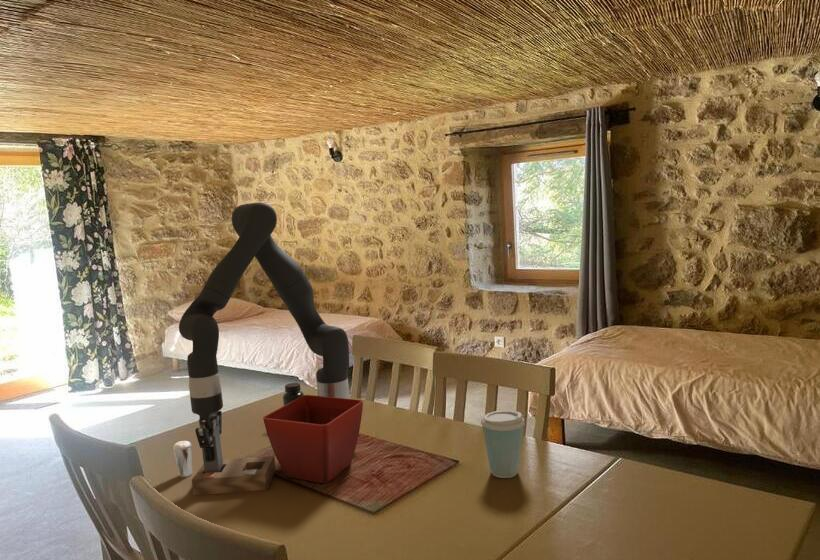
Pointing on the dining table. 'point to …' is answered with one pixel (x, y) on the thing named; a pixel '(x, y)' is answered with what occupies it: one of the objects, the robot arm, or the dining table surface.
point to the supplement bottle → (292, 393)
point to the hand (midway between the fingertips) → (213, 457)
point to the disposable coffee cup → (503, 441)
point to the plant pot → (315, 436)
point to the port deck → (236, 476)
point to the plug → (218, 462)
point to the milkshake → (183, 458)
